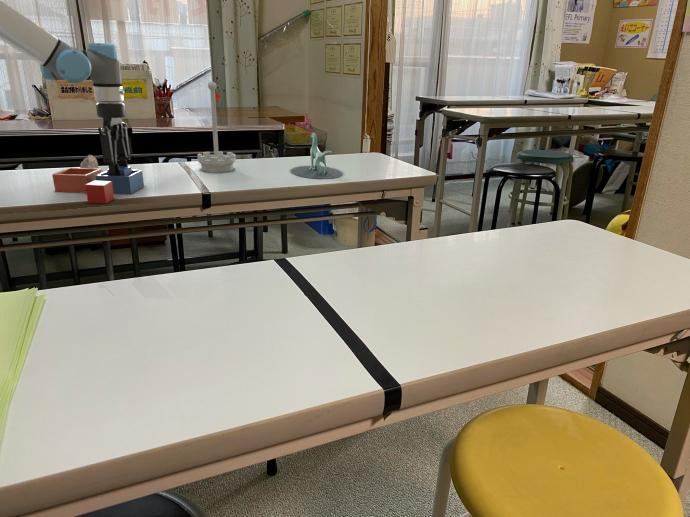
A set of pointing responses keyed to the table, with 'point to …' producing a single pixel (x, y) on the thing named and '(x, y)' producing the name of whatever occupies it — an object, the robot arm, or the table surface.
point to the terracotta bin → (74, 179)
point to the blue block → (123, 171)
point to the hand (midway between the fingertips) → (120, 183)
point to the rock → (90, 163)
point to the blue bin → (124, 182)
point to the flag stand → (215, 143)
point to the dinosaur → (316, 165)
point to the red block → (99, 191)
